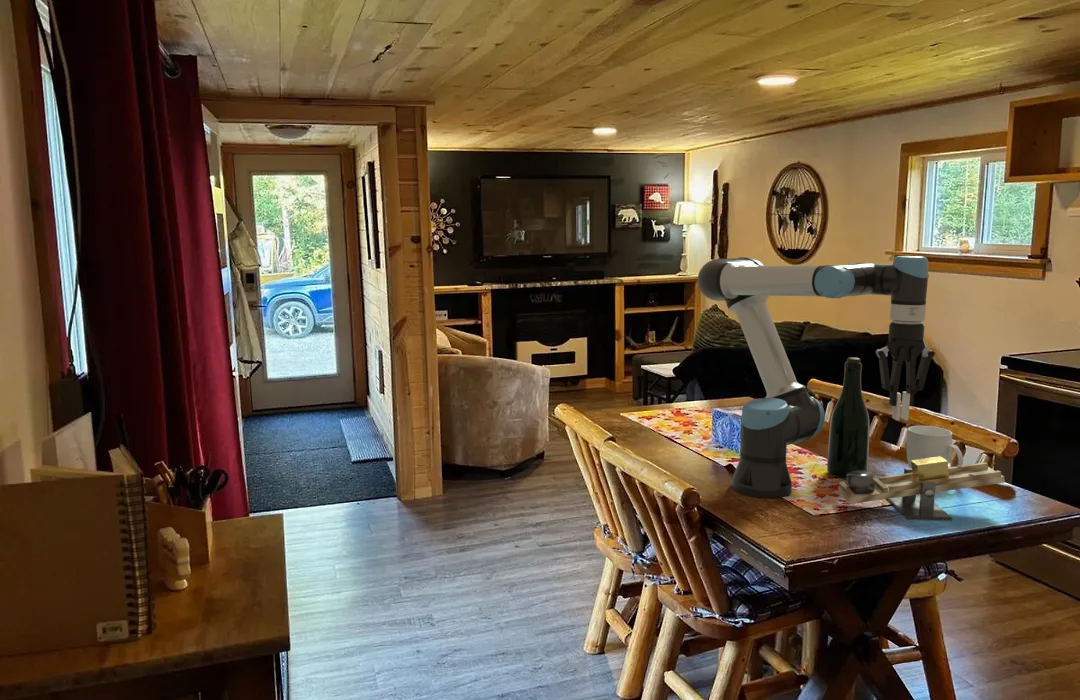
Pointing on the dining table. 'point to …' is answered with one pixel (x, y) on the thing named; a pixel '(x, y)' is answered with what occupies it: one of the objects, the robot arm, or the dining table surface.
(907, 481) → the beam
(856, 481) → the counterweight
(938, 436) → the mug
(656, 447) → the dining table surface
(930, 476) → the rider
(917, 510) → the stand
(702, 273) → the robot arm
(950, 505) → the dining table surface
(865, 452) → the green wine bottle
